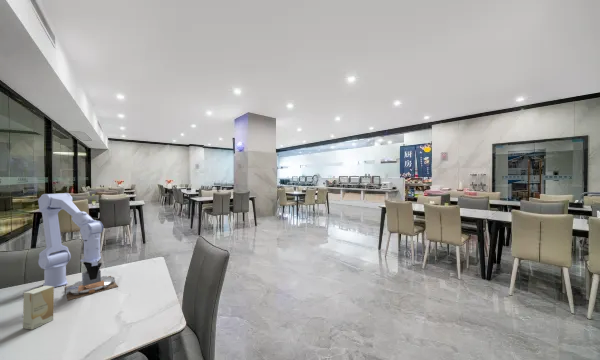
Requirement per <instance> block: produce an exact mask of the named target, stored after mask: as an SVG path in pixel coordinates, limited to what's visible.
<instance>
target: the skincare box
mask: <svg viewBox="0 0 600 360" xmlns="http://www.w3.org/2000/svg"><path fill="white" fill-rule="evenodd" d="M54 289H55V287H54V286H40V287H37V288H33V289H31V290H28V291H25V292H23V300H22V302H23V304H22V305H23V308H22V309H23V311H22V312H23V314H22V328H23V329H25V330H34V329H36V328H39V327H41V326H43V325H45V324H48V323H49V322H51V321H53V320H54V301H55V299H54V297H55V296H54V294H55V293H54V292H55V290H54Z"/></svg>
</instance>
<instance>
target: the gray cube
mask: <svg viewBox="0 0 600 360" xmlns="http://www.w3.org/2000/svg"><path fill="white" fill-rule="evenodd" d="M101 277H102V273H101V269H100V268H99V271H98V275H97V278H96V279H93V280H90V278H89V273H88V271H87V270H86V271H83V272H81V281H82V284H83V286H85V285H89V284H93V283H97V282H101Z"/></svg>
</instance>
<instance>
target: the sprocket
mask: <svg viewBox="0 0 600 360" xmlns="http://www.w3.org/2000/svg"><path fill="white" fill-rule="evenodd" d="M113 283H116V277H115V276H111V277H108V276H107V275H103V276H102V275H101V282H97V283H93V284H89V285H85V286H83V284H82V280H81V281H77V282H74V284H73V283H72V284H71V285H72V286H70V285H67V286H68V287H67V288H66V289H65V294H66V295H67V294H74V295H79V294H83V293H92V292H95V291H97V290H100V289H103V288H104V289H105V288H107V287H109V285H111V284H113ZM66 290H67V291H66Z"/></svg>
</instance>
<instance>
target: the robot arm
mask: <svg viewBox="0 0 600 360" xmlns="http://www.w3.org/2000/svg"><path fill="white" fill-rule="evenodd" d="M37 200H38V201H37V203H38V208H39V213H41V215H42V216H41V217H42V224H43V230H44V239H45V240H44V241H45V247H46V248H44V249H43V250H42V251H40V252H39V254H38V255H39V257H38V260H37V263H38V266H39V267H40V268H41V269H42V270H44V273H43V275H44V277H43V278H44V282H43V284H42V285H43V286H54V288H57V287H62V286H66V285H68V283H69V282H68V279H67V269H66V268H67V265H68V263H69V262H70V261H71V258H72V255H71V252H70V251H69V250H70V249H69V247H68V246H66V245H63V244H62V235H61V229H60V228H61V227H60V222H59V212H60V211H61V210H64V211H65V212H67V213H68V214H69V215H70V216H71V221H72V222H73V223H74V224H75V225H77V227H78V228H79V233H80V235H81V238H82V240H83V259H82V258H81V259H80V262H81V263H83V265H84V266H85V269H86V271H88V273H89V278H90V280H93V279H96V278H97V275H98V271H99V269H100V267H101V266H102V262H100V260H101V258H102V257H101V233H103V232H104V225H103V223H102V221H100V220H96V219H94V218H92V216H91V215H90V214H88V212H86V211H81V210H80V209H79V208H78V207H77V205H76V204H75V203H74V202H73V200H74V199H73V196H72V195H71V194H70V193H69V192H64V193H43V194H41V196H40V197H39V198H38V199H37ZM67 213H66V214H67Z"/></svg>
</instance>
